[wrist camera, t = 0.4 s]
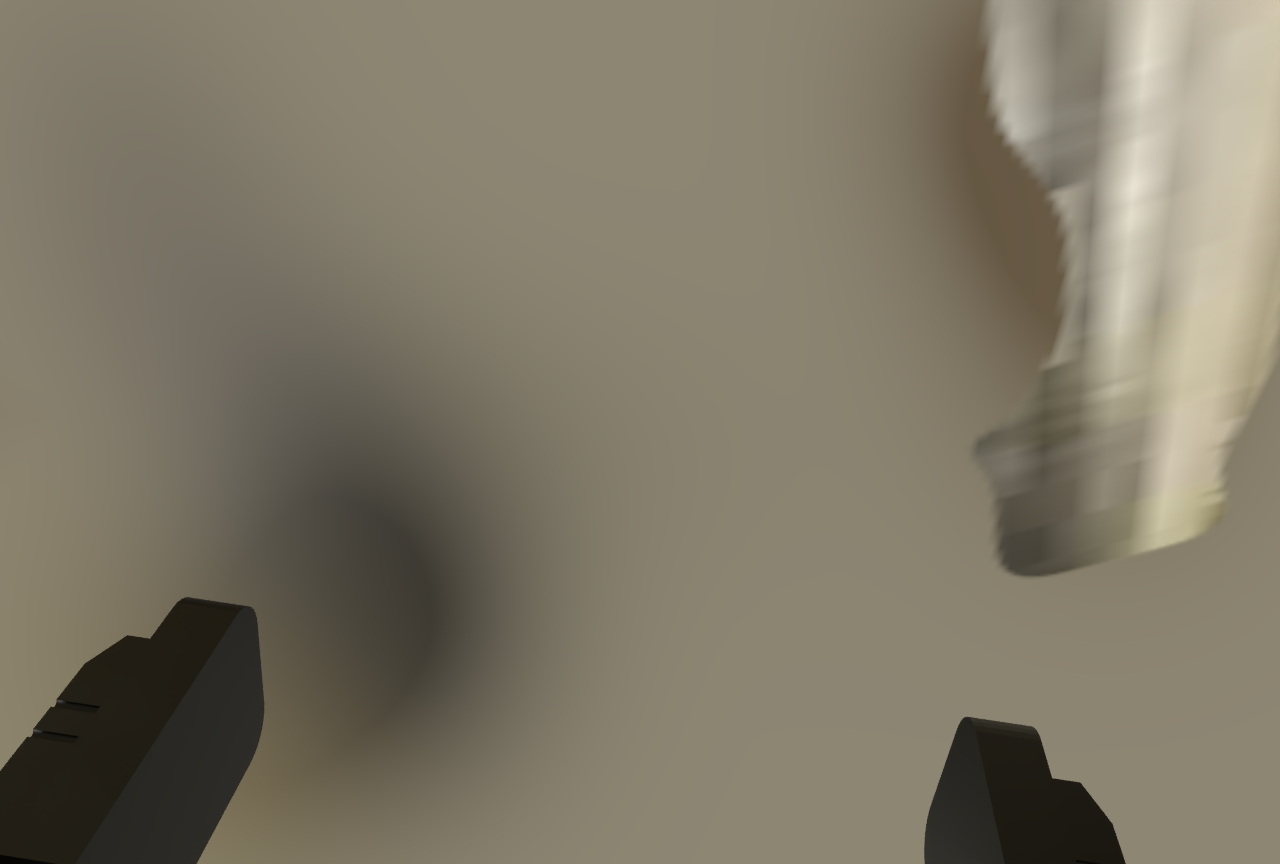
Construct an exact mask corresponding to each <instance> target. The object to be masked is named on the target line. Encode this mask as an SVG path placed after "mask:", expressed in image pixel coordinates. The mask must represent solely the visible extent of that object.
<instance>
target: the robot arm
mask: <svg viewBox="0 0 1280 864" xmlns="http://www.w3.org/2000/svg"><path fill="white" fill-rule="evenodd" d="M259 648H260V647H259V636H258V624H257V617H256V614H255V612H254V609H252V607H249V606H243V605H236V604H230V603H223V602H216V601H210V600H203V599H196V598H190V597H186V598H183V599H181V600H180V601H179V602H177V603H176V605H175V606H174V607H173V608H172V610H171V611H170V612H169V614H168V615H167V616H166V618H165V619H164V621H163V622H162V623H161V625H160V626H159V627H158V629H157V630H156V632H155V633H154V634H153V636H152V637H151V639H148V638H142V637H135V636H128V635H127V636H126V637H124V638H123V639H121V640H120V641H118V642H117V643H115V644H114V645H112V646H111V647H109V648H108V649H106V650H105V651H103V652H102V653H100V654H99V655H97V656H96V657H94V658H93V659H91V660H90V661H88V662H87V663H85V664H84V665H83V667H82V668H81V669H80V670H79V672H78V673H77V674H76V676H75V677H74V678H73V679H72V681H71V682H70V683H69V684H68V686H67V687H66V688H65V689H64V691H63V692H62V693H61V695H60V696H59V697H58V698H57V702H56V705H55V707H50V709H49V710H48V711H47V712H46V714H45V715H44V716H43V718H42V719H41V720H40V721H39V722H38V724H37V725H36V726H35V728H34V729H33V734H32V736H31V737H27V738H26V739H25V740H24V742H23V743H22V744H21V745H20V747H19V748H18V749H17V750H16V752H15V753H14V754H13V755H12V757H11V758H10V759H9V761H8V762H7V763H6V764H5V766H4V767H3V768H2V769H1V771H0V864H196V863H197V862H198V860H199V858H200V856H201V854H202V852H203V850H204V849H205V847H206V845H207V843H208V841H209V839H210V837H211V836H212V834H213V832H214V830H215V828H216V826H217V824H218V823H219V821H220V819H221V817H222V815H223V813H224V811H225V810H226V807H227V806H228V804H229V802H230V800H231V798H232V796H233V795H234V793H235V791H236V789H237V787H238V785H239V783H240V781H241V780H242V778H243V776H244V774H245V772H246V770H247V768H248V766H249V765H250V763H251V761H252V758H253V756H254V754H255V751H256V749H257V746H258V742H259V739H260V735H261V730H262V725H263V718H264V696H263V684H262V671H261V660H260V649H259ZM924 858H925V864H1126V863H1125V860H1124V857H1123V854H1122V851H1121V848H1120V845H1119V842H1118V839H1117V836H1116V833H1115V831H1114V828H1113V824H1112V823H1111V822H1110V821H1109V819H1108V818H1107V816H1106V815H1105V814H1104V812H1103V811H1102V810H1101V809H1100V807H1099V806H1098V805H1097V803H1096V802H1095V801H1094V800H1093V798H1092V797H1091V796H1090V794H1089V793H1088V792H1087V791H1086V789H1085V788H1084V787H1083V786H1082V784H1081V783H1079V782H1073V781H1066V780H1060V779H1053V778H1052V776H1051V773H1050V770H1049V766H1048V762H1047V759H1046V756H1045V752H1044V749H1043V746H1042V742H1041V739H1040V736H1039V734H1038V732H1037V730H1036V729H1035V728H1034V727H1031V726H1025V725H1018V724H1012V723H1005V722H998V721H992V720H985V719H978V718H972V717H965V718H963V719H962V721H961V722H960V724H959V726H958V728H957V731H956V734H955V737H954V740H953V743H952V746H951V748H950V751H949V754H948V757H947V760H946V763H945V766H944V769H943V772H942V775H941V778H940V780H939V783H938V786H937V789H936V792H935V795H934V798H933V801H932V804H931V807H930V810H929V814H928V819H927V824H926V832H925V847H924Z"/></svg>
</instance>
